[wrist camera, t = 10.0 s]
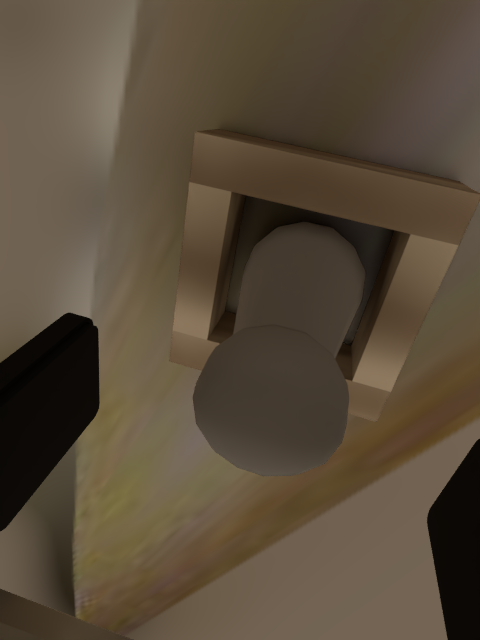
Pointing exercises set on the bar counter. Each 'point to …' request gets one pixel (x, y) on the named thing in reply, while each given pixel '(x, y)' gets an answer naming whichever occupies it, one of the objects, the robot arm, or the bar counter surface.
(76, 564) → the bar counter surface
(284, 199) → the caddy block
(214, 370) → the salt shaker
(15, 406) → the robot arm
